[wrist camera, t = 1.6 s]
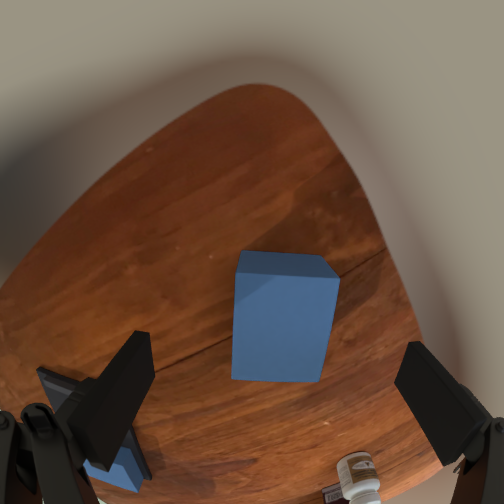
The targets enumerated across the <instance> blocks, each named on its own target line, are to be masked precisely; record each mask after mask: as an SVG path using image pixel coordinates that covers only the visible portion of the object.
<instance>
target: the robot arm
mask: <svg viewBox="0 0 504 504" xmlns="http://www.w3.org/2000/svg"><path fill="white" fill-rule="evenodd" d="M154 378H155V372H154V365H153V358H152V350H151V342H150V333H149V332H143V331H136V330H135V331H134V332H133V334H132V335H131V336H130V337H129V339H128V340H127V341H126V343H125V344H124V345H123V346H122V348H121V349H120V350H119V351H118V353H117V354H116V355H115V356H114V358H113V359H112V360H111V362H110V363H109V364H108V366H107V367H106V368H105V369H104V371H103V372H102V373H101V375H100V376H99V377H98V379H97V380H96V379H93V378H90V377H88V378H86V379H85V380H83V381H81V382H80V383H79V384H78V385H77V386H76V387H75V389H74V390H73V392H71V394H70V395H69V397H68V398H67V399H66V400H65V401H64V402H63V404H62V405H61V406H60V407H59V409H58V410H57V411H56V413H55V414H53V412H52V410H51V408H50V407H49V406H47V405H46V404H43V403H33V404H29V405H28V406H26V407H25V408H24V409H23V410H22V412H21V417H20V418H21V419H22V421H23V423H24V424H23V423H19V422H17V421H16V420H15V418H14V416H13V415H12V414H11V413H10V412H7V411H0V504H43V501H44V504H100V503H99V501H98V499H97V496H96V494H95V492H94V490H93V487H92V485H91V482H90V480H89V477H88V475H87V472H86V469H85V467H84V466H83V464H84V462H85V460H86V459H87V460H88V462H89V463H90V465H91V466H92V467H94V468H97V469H100V470H102V471H105V472H108V473H109V471H110V469H111V466H112V464H113V462H114V460H115V458H116V456H117V454H118V452H119V449H120V447H121V445H122V443H123V441H124V439H125V437H126V435H127V433H128V431H129V428H130V426H131V424H132V422H133V420H134V418H135V416H136V414H137V412H138V410H139V408H140V406H141V404H142V402H143V400H144V398H145V396H146V394H147V392H148V390H149V388H150V386H151V384H152V382H153V380H154ZM394 384H395V385H396V387H397V388H398V390H399V392H400V393H401V395H402V396H403V398H404V400H405V401H406V403H407V405H408V406H409V408H410V409H411V411H412V413H413V414H414V416H415V418H416V420H417V421H418V423H419V425H420V426H421V428H422V430H423V431H424V433H425V435H426V437H427V438H428V440H429V442H430V444H431V445H432V447H433V449H434V451H435V452H436V454H437V456H438V458H439V460H440V461H441V463H442V465H443V467H444V466H446V465H449V464H450V463H453V462H456V460H457V459H458V458H459V457H460V456H461V454H462V453H463V454H464V455H465V458H464V459H463V460H462V461H461V462H460V463H459V465H458V466H457V467H456V468H455V469H454V471H453V473H455V472H456V471H457V470H458V469H459V468H460V471H459V472H458V474H459V476H458V479H457V483H456V487H455V490H454V494H453V497H452V500H451V503H450V504H504V418H501V417H497V418H493V417H492V416H491V415H490V414H489V412H488V411H487V410H486V409H485V408H484V406H483V405H482V404H481V403H480V402H479V401H478V399H477V398H476V397H475V396H474V395H473V394H472V392H471V391H470V390H469V389H468V388H466V387H465V386H463V385H462V384H459V383H458V382H457V381H456V380H455V379H454V378H453V377H452V375H450V374H449V372H448V371H447V370H446V369H445V368H444V367H443V366H442V364H441V363H440V362H439V361H438V360H437V359H436V358H435V357H434V356H433V355H432V353H431V352H430V351H429V350H428V349H427V348H426V347H425V346H424V345H423V344H422V343H421V342H420V341H415V342H409V343H408V346H407V349H406V352H405V355H404V358H403V361H402V363H401V366H400V369H399V371H398V374H397V377H396V379H395V382H394ZM42 497H43V500H42Z"/></svg>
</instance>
